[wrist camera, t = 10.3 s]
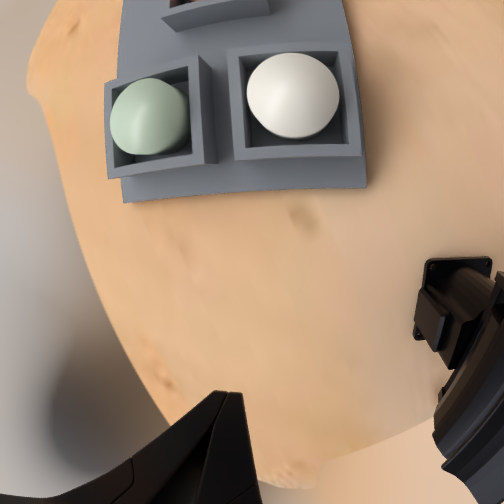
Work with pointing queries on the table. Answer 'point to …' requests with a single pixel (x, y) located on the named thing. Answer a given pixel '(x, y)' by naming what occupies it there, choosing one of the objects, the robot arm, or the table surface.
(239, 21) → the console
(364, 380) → the table surface
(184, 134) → the button sage
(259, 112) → the button ivory
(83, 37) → the table surface
